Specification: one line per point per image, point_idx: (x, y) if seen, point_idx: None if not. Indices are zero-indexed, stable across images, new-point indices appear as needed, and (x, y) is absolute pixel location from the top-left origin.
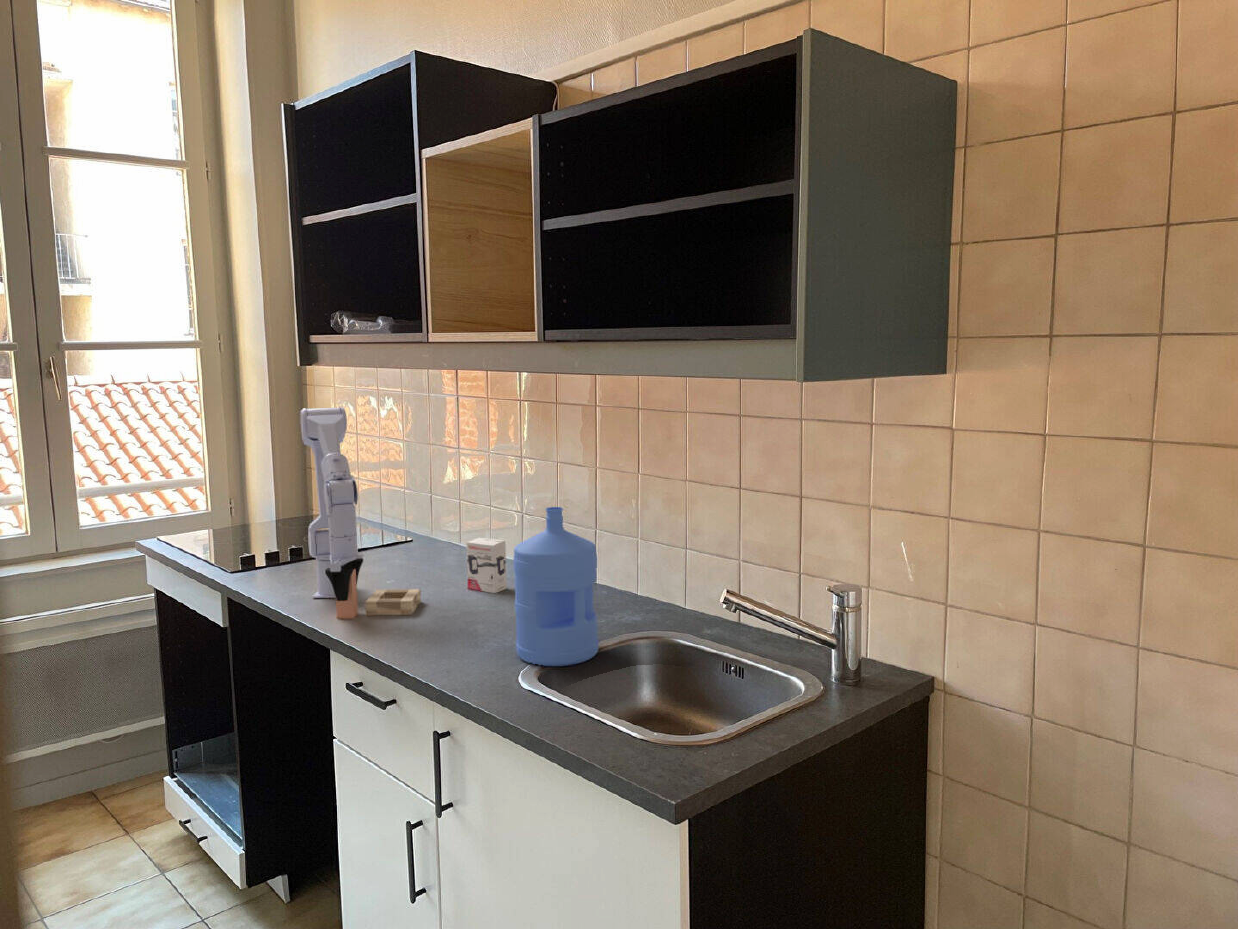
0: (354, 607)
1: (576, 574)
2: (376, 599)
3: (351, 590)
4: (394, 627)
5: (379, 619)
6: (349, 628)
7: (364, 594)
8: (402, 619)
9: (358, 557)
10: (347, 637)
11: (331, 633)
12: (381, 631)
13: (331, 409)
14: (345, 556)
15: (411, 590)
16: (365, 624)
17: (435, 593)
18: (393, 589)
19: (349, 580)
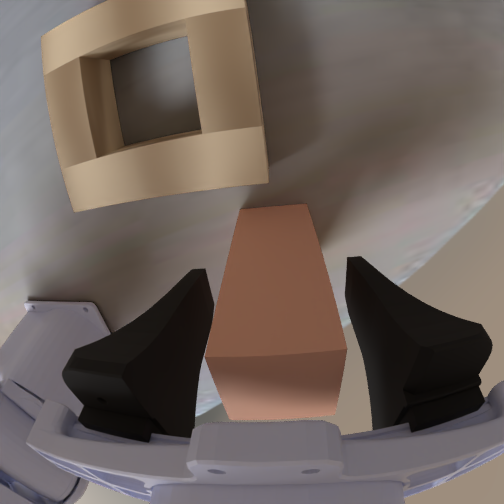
0: (287, 221)
1: None
2: (215, 142)
3: (325, 269)
4: (414, 22)
5: (320, 93)
6: (424, 181)
7: (51, 265)
8: (313, 4)
9: (341, 449)
10: (495, 165)
11: (458, 223)
12: (455, 64)
13: None
14: (402, 494)
15: (59, 54)
16: (385, 133)
17: (3, 59)
18: (55, 140)
19: (401, 309)
